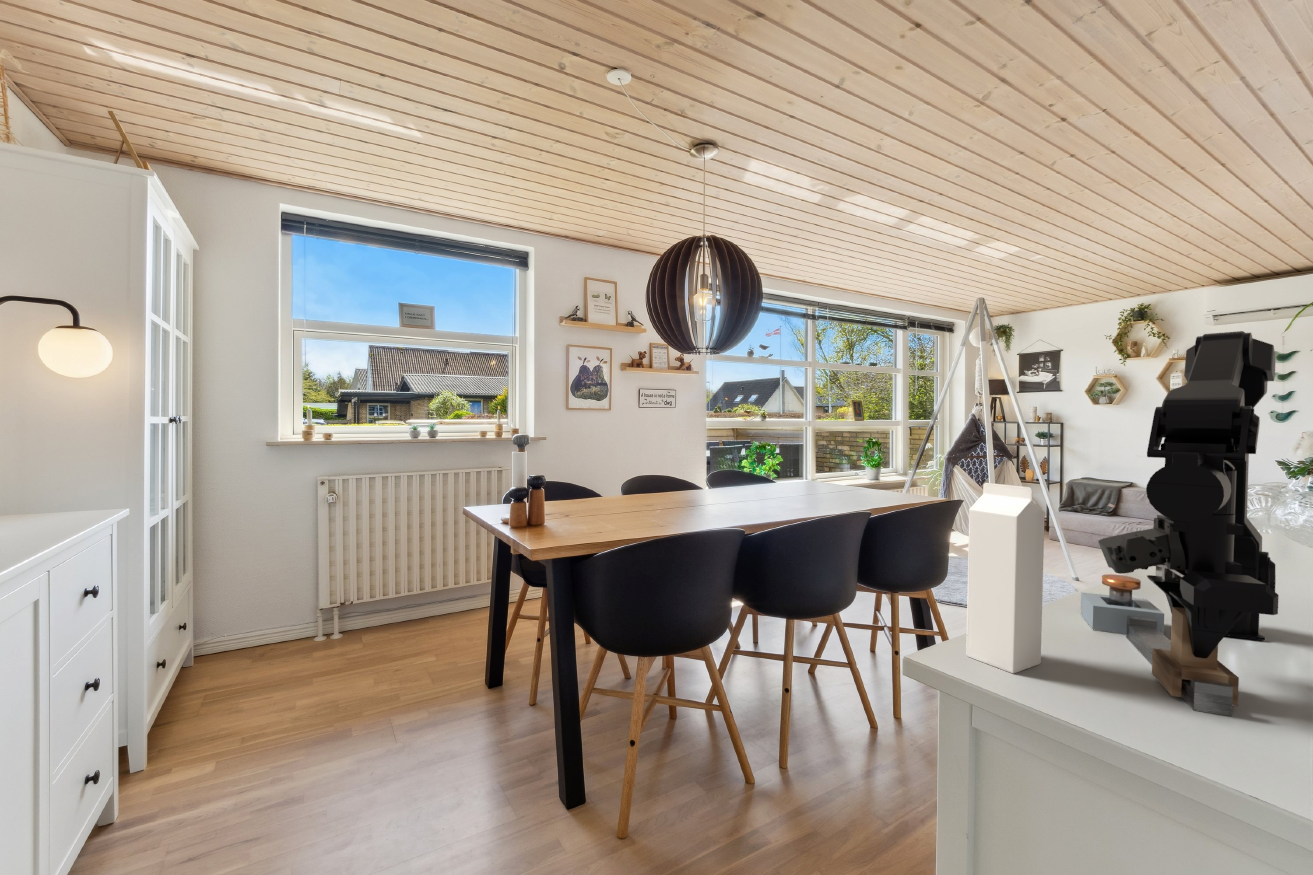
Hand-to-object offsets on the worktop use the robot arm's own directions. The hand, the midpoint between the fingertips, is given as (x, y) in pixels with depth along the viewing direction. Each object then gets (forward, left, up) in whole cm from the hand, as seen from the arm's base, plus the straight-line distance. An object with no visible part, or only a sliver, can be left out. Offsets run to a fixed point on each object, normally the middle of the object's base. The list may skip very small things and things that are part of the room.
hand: (1193, 651), depth 65 cm
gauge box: (+1, -22, -5) cm, 22 cm away
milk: (+18, -1, -5) cm, 19 cm away
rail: (0, -6, -5) cm, 8 cm away
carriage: (0, 0, -5) cm, 5 cm away
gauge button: (+1, -22, -2) cm, 22 cm away
